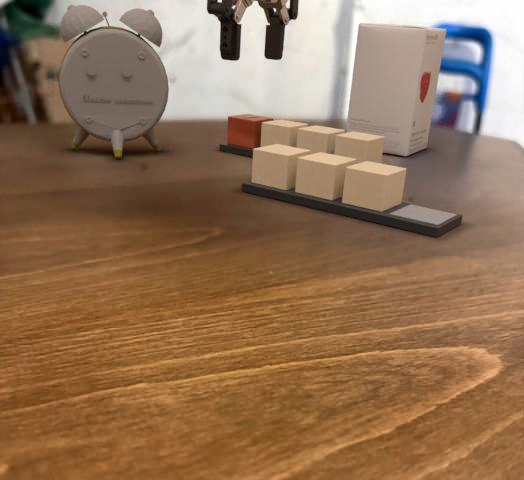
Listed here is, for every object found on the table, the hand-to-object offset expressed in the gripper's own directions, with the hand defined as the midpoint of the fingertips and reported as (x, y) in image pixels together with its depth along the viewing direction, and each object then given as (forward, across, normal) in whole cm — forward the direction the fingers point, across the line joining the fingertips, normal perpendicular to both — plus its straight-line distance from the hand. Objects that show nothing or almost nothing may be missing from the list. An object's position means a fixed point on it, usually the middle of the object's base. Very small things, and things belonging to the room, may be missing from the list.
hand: (252, 59), depth 78 cm
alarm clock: (+11, -14, +8) cm, 19 cm away
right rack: (+10, -14, -22) cm, 28 cm away
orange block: (+10, 0, 0) cm, 10 cm away
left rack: (+10, 0, -8) cm, 13 cm away
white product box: (+10, +17, -11) cm, 23 cm away
